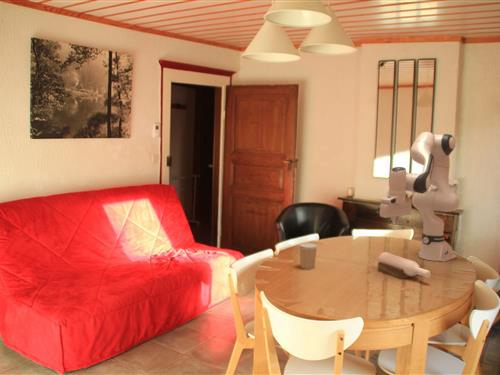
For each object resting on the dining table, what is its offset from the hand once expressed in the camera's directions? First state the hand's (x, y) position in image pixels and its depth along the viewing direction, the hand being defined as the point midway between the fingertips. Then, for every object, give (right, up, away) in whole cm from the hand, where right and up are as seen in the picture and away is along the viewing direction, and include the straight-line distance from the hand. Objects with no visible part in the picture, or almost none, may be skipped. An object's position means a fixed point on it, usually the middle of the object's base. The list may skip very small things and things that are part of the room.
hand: (395, 224), depth 267 cm
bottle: (-4, -19, +7) cm, 21 cm away
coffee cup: (-45, -24, +8) cm, 52 cm away
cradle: (+2, -25, 0) cm, 25 cm away
